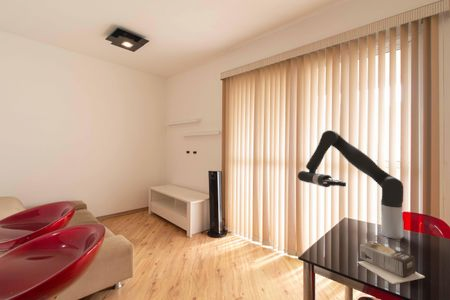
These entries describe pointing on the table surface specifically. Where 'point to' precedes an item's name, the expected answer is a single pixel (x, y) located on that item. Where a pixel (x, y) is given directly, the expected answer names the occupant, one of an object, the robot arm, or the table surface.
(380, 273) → the mat
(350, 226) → the table surface
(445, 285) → the table surface
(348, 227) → the table surface
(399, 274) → the coffee box
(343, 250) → the table surface
